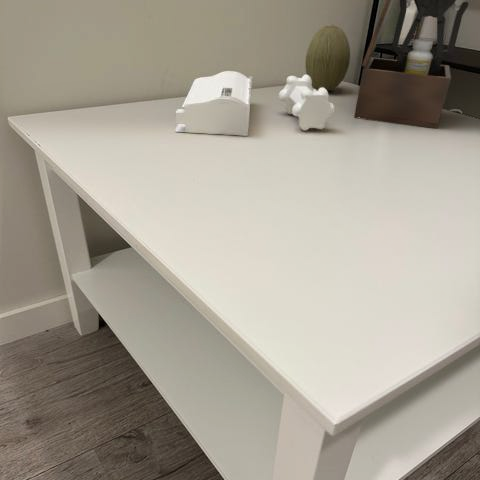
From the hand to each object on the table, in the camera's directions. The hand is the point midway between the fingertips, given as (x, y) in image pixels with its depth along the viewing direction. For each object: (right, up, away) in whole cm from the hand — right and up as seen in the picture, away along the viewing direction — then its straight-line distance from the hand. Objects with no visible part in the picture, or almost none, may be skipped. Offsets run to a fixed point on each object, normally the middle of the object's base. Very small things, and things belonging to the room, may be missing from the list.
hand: (412, 89), depth 108 cm
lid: (-8, +13, -7) cm, 16 cm away
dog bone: (-25, -9, -4) cm, 27 cm away
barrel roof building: (-44, -8, -4) cm, 45 cm away
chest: (-2, -4, +4) cm, 6 cm away
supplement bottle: (0, 0, 0) cm, 1 cm away
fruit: (-17, +9, +20) cm, 27 cm away
